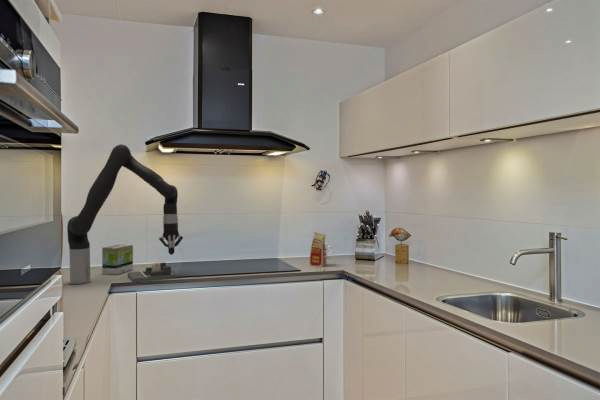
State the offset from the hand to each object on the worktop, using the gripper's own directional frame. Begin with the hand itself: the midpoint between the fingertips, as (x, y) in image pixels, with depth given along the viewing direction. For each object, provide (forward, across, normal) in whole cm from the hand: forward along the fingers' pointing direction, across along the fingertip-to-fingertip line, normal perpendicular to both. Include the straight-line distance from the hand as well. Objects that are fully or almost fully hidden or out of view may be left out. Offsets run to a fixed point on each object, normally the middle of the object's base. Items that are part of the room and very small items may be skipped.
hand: (171, 254), depth 244 cm
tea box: (+11, +24, -25) cm, 37 cm away
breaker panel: (+11, +10, 0) cm, 15 cm away
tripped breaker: (+9, +8, 0) cm, 12 cm away
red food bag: (+12, -83, +16) cm, 85 cm away
